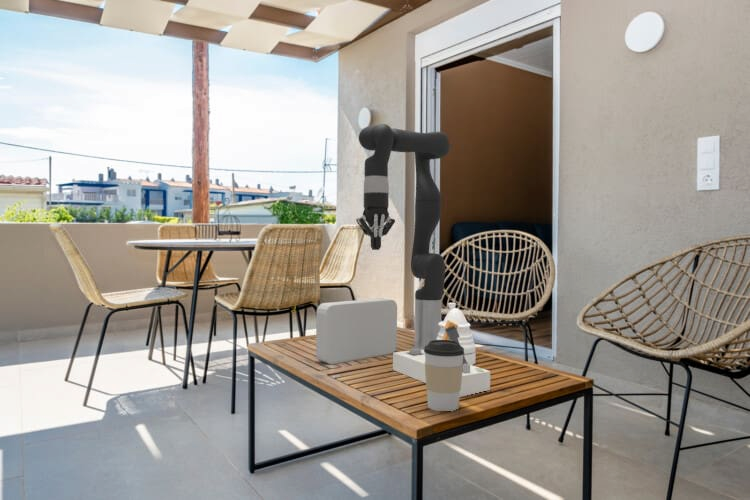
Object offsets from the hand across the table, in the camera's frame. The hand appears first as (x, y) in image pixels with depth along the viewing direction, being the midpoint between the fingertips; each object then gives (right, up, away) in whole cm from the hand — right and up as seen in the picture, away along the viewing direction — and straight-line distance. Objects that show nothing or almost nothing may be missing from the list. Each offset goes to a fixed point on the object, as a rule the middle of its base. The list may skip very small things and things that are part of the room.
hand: (375, 249), depth 151 cm
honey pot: (+25, -35, +6) cm, 43 cm away
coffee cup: (+15, -36, -38) cm, 54 cm away
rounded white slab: (-6, -35, +9) cm, 36 cm away
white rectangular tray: (+17, -35, -16) cm, 42 cm away
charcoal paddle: (+23, -30, -25) cm, 45 cm away
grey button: (+11, -32, -7) cm, 34 cm away
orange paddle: (+16, -30, -16) cm, 38 cm away
